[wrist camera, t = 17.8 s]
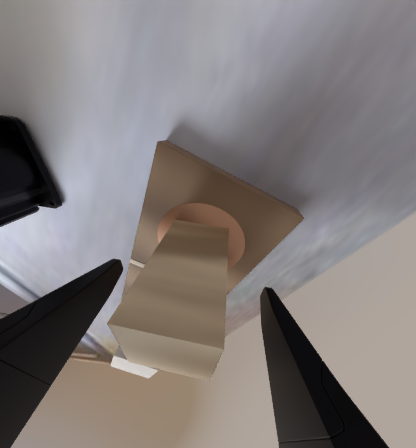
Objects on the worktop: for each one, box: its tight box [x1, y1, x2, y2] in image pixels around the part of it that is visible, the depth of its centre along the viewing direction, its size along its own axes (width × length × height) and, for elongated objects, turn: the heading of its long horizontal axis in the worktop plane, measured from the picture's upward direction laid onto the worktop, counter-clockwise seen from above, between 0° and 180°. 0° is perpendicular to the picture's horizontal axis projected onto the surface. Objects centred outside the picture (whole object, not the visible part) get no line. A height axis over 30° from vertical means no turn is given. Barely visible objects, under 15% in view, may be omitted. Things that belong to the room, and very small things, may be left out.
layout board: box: [121, 140, 304, 301], centre depth 15 cm, size 22×10×1 cm, turn 155°
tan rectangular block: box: [107, 220, 229, 381], centre depth 9 cm, size 4×4×7 cm
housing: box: [111, 346, 159, 378], centre depth 23 cm, size 6×6×5 cm
